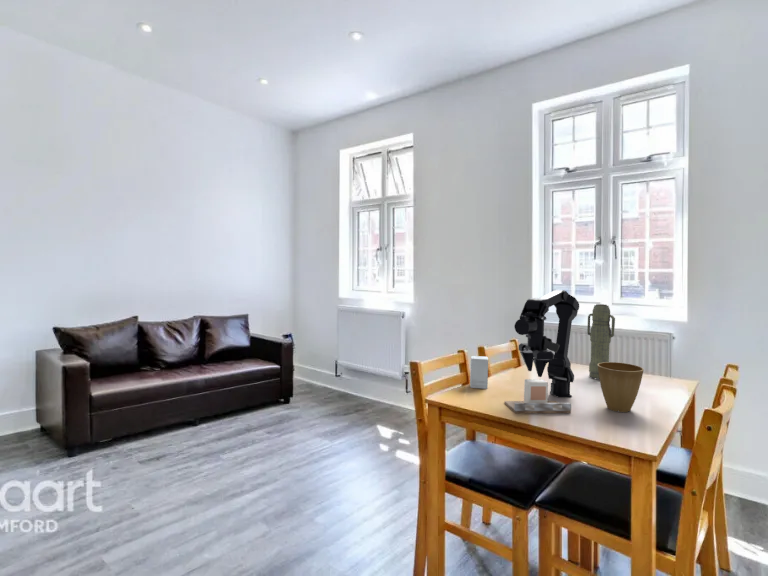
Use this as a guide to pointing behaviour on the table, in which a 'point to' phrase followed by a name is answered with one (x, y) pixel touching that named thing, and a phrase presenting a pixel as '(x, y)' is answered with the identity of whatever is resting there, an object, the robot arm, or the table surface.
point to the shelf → (539, 407)
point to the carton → (535, 391)
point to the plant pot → (619, 384)
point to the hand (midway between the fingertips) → (534, 373)
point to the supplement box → (479, 372)
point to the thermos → (600, 337)
